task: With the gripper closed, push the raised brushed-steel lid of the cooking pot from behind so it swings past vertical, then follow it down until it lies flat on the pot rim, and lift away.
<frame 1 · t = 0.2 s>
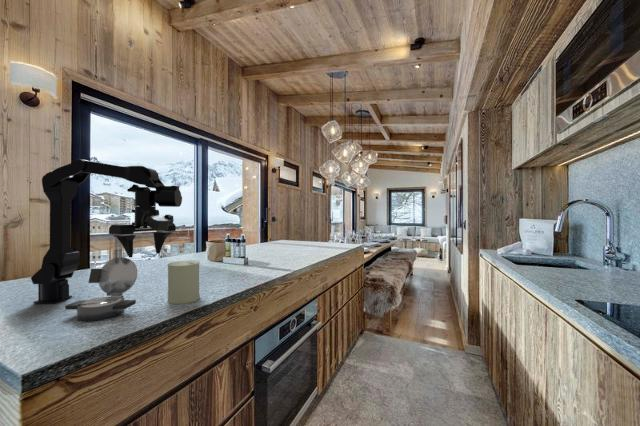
hand: (144, 255, 90), 14 cm above the worktop, fingers open, 9 cm apart
pot: (101, 314, 75), on the worktop
lid: (114, 276, 82), point 9 cm above the worktop, hinge at 106.0°
can: (184, 300, 89), on the worktop
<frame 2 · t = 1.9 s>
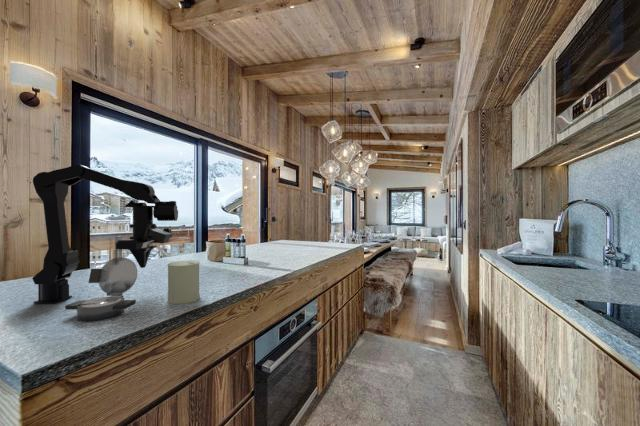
hand: (143, 267, 94), 9 cm above the worktop, fingers closed
nothing on the worktop moved.
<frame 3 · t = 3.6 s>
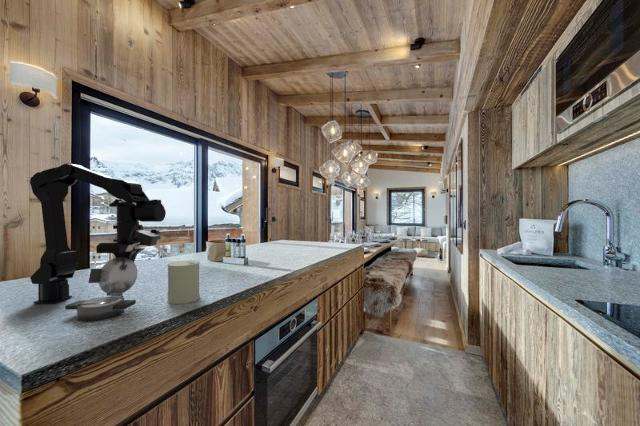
hand: (128, 272, 86), 9 cm above the worktop, fingers closed
lid: (114, 276, 82), point 9 cm above the worktop, hinge at 106.0°, touching gripper
everything else where it was.
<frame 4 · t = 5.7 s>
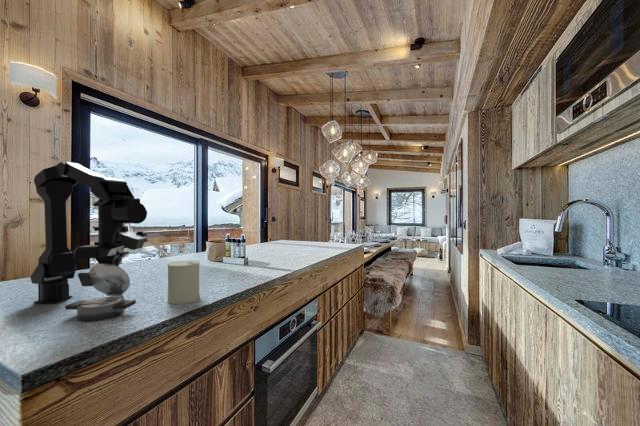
hand: (111, 278, 79), 9 cm above the worktop, fingers closed
lid: (105, 279, 79), point 9 cm above the worktop, hinge at 66.5°, touching gripper
everything else where it was.
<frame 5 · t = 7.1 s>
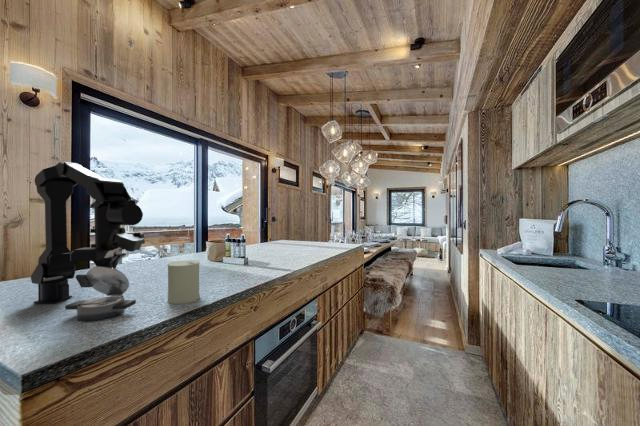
hand: (109, 280, 78), 9 cm above the worktop, fingers closed, pressing on lid
lid: (104, 280, 78), point 9 cm above the worktop, hinge at 59.4°, touching gripper
everything else where it was.
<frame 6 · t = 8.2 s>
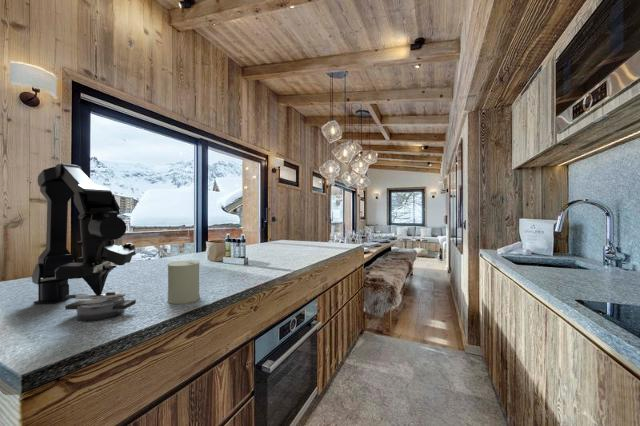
hand: (98, 294, 74), 6 cm above the worktop, fingers closed, pressing on lid
lid: (97, 294, 75), point 5 cm above the worktop, hinge at 12.0°, touching gripper
everything else where it was.
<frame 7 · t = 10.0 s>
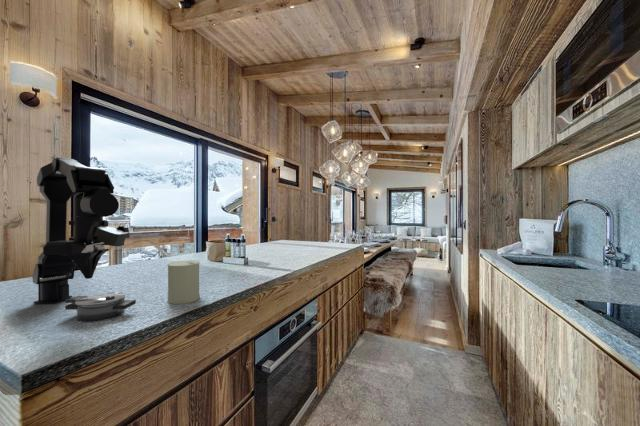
hand: (88, 278, 71), 11 cm above the worktop, fingers closed
lid: (97, 297, 75), point 5 cm above the worktop, hinge at 2.8°
everything else where it was.
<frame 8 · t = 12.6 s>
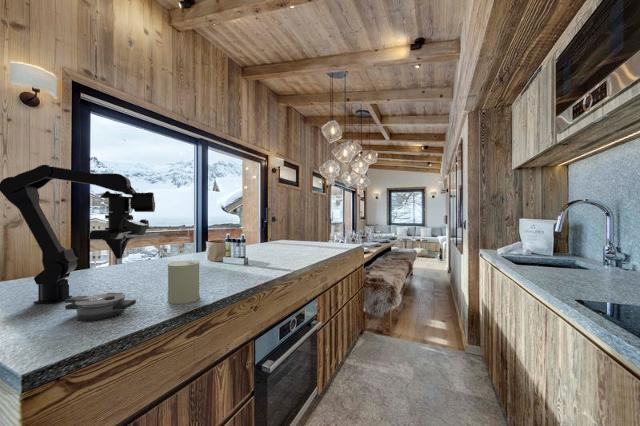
hand: (119, 258, 94), 12 cm above the worktop, fingers closed
nothing on the worktop moved.
at the end: lid at +3° (first picture: +106°) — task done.
